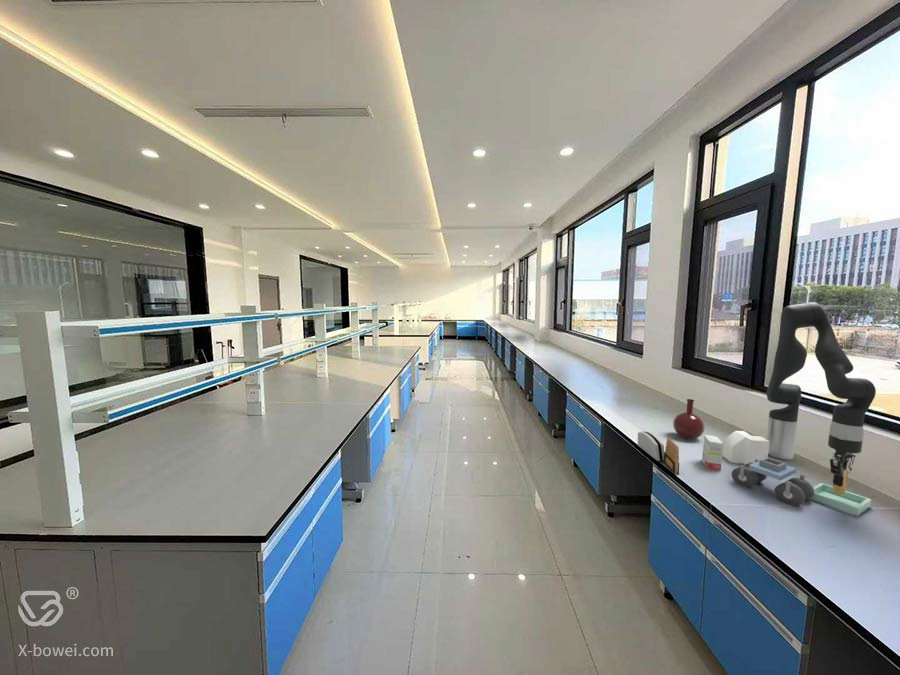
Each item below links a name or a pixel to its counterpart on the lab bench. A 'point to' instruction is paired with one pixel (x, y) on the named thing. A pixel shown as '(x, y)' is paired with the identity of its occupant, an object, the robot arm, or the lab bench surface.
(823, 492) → the tray
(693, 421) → the round-bottom flask
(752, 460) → the white faceted lump
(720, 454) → the ink box
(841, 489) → the pin
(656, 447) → the white rounded slab
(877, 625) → the lab bench surface
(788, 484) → the trolley
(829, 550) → the lab bench surface
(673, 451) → the ammunition clip
